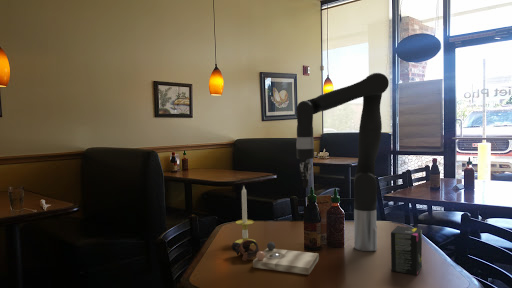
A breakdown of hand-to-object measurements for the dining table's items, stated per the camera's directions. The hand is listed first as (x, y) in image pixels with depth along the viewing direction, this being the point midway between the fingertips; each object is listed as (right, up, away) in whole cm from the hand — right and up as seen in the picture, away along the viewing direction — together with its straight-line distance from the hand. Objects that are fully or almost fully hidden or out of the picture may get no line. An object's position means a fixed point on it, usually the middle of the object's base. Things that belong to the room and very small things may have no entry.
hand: (305, 187), depth 169 cm
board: (-10, -28, -16) cm, 34 cm away
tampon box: (+35, -28, -24) cm, 50 cm away
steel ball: (-14, -27, -14) cm, 33 cm away
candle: (-27, -27, +12) cm, 40 cm away
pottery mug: (-26, -28, -7) cm, 39 cm away
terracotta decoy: (-20, -24, -18) cm, 36 cm away
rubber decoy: (-15, -24, -7) cm, 29 cm away
